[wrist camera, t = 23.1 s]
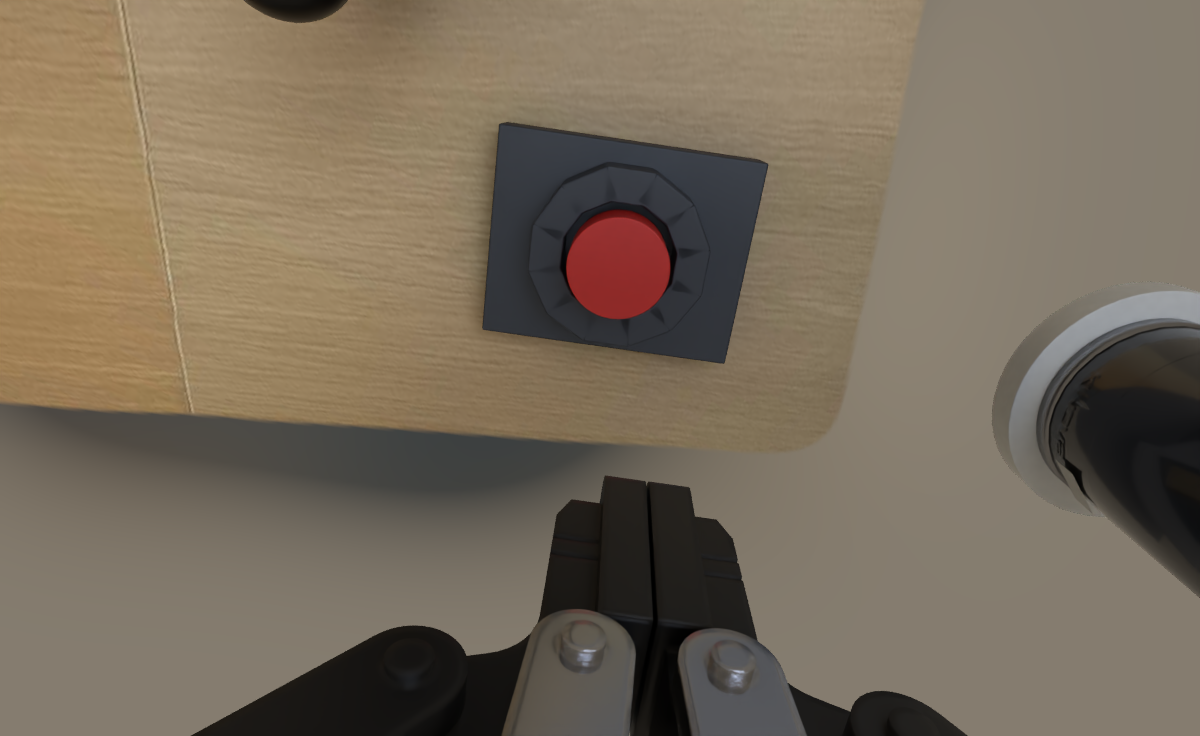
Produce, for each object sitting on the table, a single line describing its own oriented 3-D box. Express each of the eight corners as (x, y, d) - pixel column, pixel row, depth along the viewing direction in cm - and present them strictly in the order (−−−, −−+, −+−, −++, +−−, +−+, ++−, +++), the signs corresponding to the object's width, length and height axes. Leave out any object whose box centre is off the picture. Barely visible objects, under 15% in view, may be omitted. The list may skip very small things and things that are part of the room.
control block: (760, 159, 27) (779, 168, 24) (719, 350, 30) (730, 380, 27) (506, 121, 27) (490, 125, 24) (489, 317, 30) (473, 344, 27)
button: (675, 216, 25) (679, 225, 23) (658, 312, 26) (660, 326, 25) (576, 202, 25) (572, 209, 23) (563, 298, 26) (560, 312, 25)
